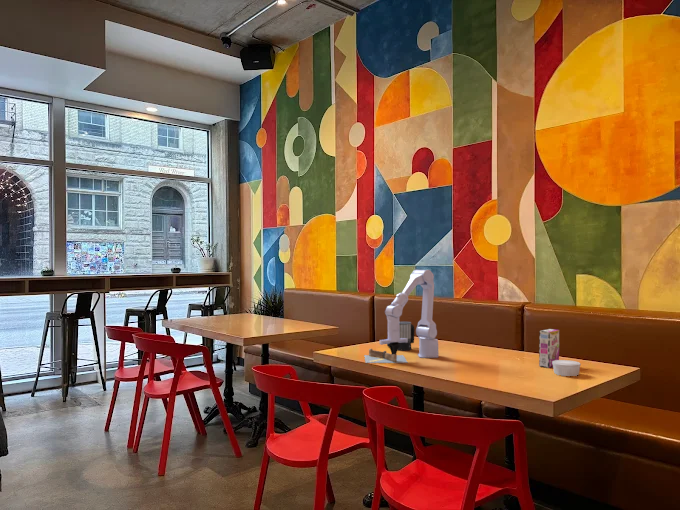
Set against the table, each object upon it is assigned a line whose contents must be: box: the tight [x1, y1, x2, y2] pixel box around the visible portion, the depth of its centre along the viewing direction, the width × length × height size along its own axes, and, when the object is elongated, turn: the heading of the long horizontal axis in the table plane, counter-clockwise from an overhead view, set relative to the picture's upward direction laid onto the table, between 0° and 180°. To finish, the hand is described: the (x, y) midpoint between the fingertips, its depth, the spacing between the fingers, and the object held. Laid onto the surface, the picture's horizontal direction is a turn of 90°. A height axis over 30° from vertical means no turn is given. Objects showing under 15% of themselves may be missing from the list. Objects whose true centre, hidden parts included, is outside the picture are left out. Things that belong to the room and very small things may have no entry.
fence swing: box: [385, 352, 398, 362], centre depth 250 cm, size 9×2×3 cm, turn 24°
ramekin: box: [552, 359, 581, 377], centre depth 220 cm, size 11×11×5 cm
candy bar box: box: [538, 328, 560, 369], centre depth 238 cm, size 11×5×16 cm, turn 134°
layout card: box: [363, 354, 408, 364], centre depth 255 cm, size 20×19×1 cm
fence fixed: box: [368, 348, 387, 359], centre depth 259 cm, size 2×11×4 cm, turn 45°
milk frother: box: [386, 321, 416, 352], centre depth 286 cm, size 14×16×15 cm
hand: (393, 358), depth 250 cm, fingers closed, pressing on fence swing
